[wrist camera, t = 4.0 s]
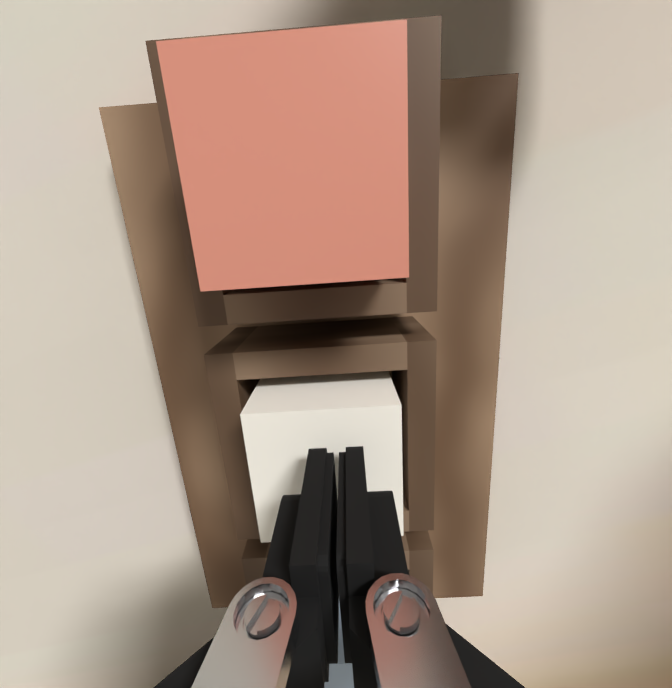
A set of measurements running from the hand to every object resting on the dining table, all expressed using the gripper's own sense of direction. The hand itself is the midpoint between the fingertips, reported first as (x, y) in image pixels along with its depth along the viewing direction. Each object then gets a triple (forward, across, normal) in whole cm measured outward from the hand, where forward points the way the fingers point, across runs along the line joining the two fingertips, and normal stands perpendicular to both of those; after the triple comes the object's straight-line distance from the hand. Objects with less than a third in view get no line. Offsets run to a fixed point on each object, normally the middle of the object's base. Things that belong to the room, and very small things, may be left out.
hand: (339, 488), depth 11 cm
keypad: (+8, +1, 0) cm, 8 cm away
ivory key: (+5, +1, 0) cm, 5 cm away
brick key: (+4, +1, -9) cm, 9 cm away
